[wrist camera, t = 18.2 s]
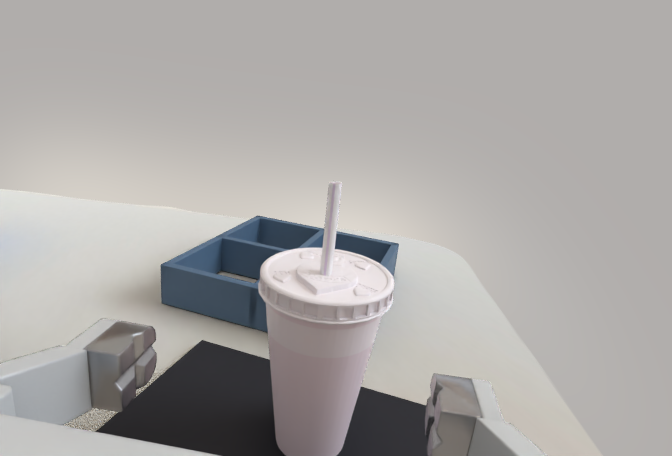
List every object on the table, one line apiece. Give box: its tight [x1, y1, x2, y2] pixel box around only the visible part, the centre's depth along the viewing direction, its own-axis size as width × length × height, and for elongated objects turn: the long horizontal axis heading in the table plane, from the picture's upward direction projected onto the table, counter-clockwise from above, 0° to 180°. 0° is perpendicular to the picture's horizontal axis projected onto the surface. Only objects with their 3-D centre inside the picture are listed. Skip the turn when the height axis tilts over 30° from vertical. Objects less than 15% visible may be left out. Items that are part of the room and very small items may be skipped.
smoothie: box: [258, 181, 395, 456], centre depth 21 cm, size 6×6×14 cm
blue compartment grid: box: [161, 216, 399, 332], centre depth 40 cm, size 17×17×4 cm
